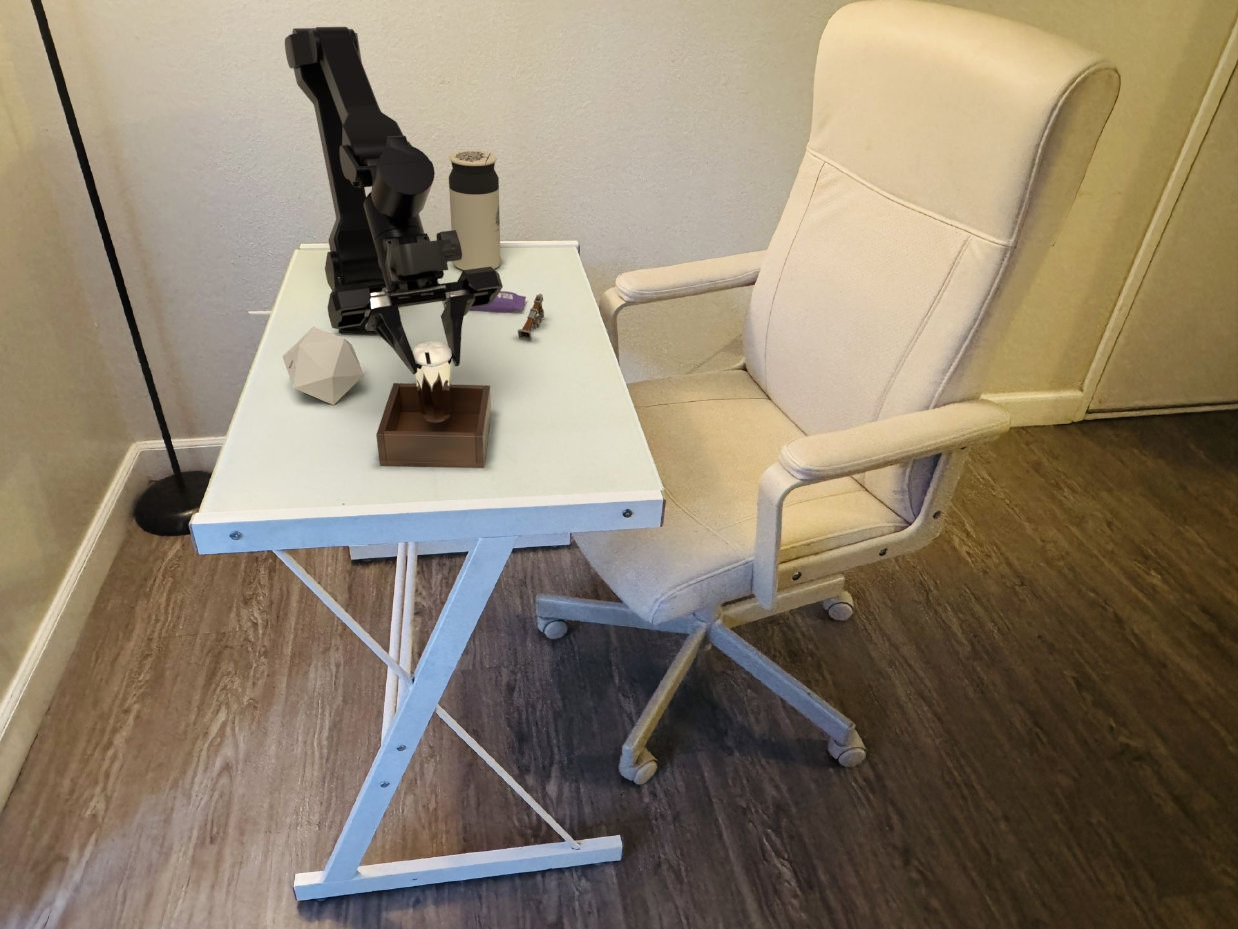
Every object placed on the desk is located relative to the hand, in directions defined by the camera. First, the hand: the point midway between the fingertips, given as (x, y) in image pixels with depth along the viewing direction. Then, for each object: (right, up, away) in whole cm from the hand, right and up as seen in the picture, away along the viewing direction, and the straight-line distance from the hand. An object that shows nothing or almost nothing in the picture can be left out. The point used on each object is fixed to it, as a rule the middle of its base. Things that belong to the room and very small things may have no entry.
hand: (436, 369), depth 96 cm
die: (-17, -2, +14) cm, 22 cm away
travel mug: (-4, +23, +52) cm, 57 cm away
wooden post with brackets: (+7, +9, +32) cm, 34 cm away
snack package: (0, +14, +38) cm, 40 cm away
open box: (-1, -8, +6) cm, 10 cm away
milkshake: (-1, -5, +5) cm, 7 cm away
